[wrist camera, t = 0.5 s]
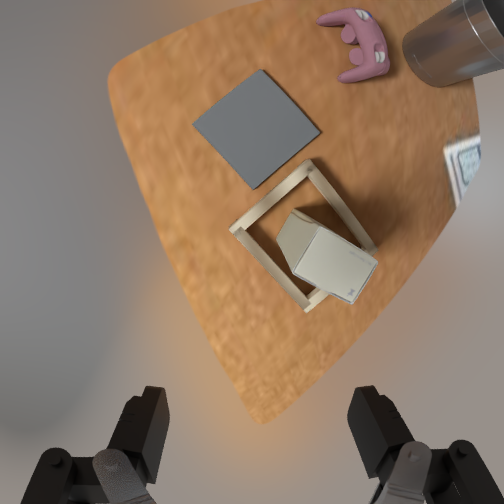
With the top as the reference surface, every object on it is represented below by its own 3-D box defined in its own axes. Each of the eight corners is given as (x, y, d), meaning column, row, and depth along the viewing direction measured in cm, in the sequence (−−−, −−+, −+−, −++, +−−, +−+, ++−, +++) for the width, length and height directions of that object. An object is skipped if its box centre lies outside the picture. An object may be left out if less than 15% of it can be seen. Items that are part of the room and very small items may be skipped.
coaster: (260, 70, 29) (260, 68, 28) (318, 133, 31) (320, 132, 30) (192, 125, 30) (191, 124, 30) (252, 189, 32) (253, 190, 32)
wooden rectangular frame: (305, 159, 32) (309, 158, 30) (371, 246, 35) (378, 250, 33) (229, 226, 33) (228, 229, 31) (303, 306, 36) (306, 313, 34)
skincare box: (336, 232, 34) (382, 261, 22) (317, 264, 35) (354, 307, 23) (291, 206, 33) (321, 222, 21) (272, 240, 34) (290, 274, 22)
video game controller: (359, 87, 31) (403, 72, 25) (335, 85, 29) (381, 67, 23) (335, 23, 29) (374, 3, 23) (310, 18, 27) (350, -7, 21)
